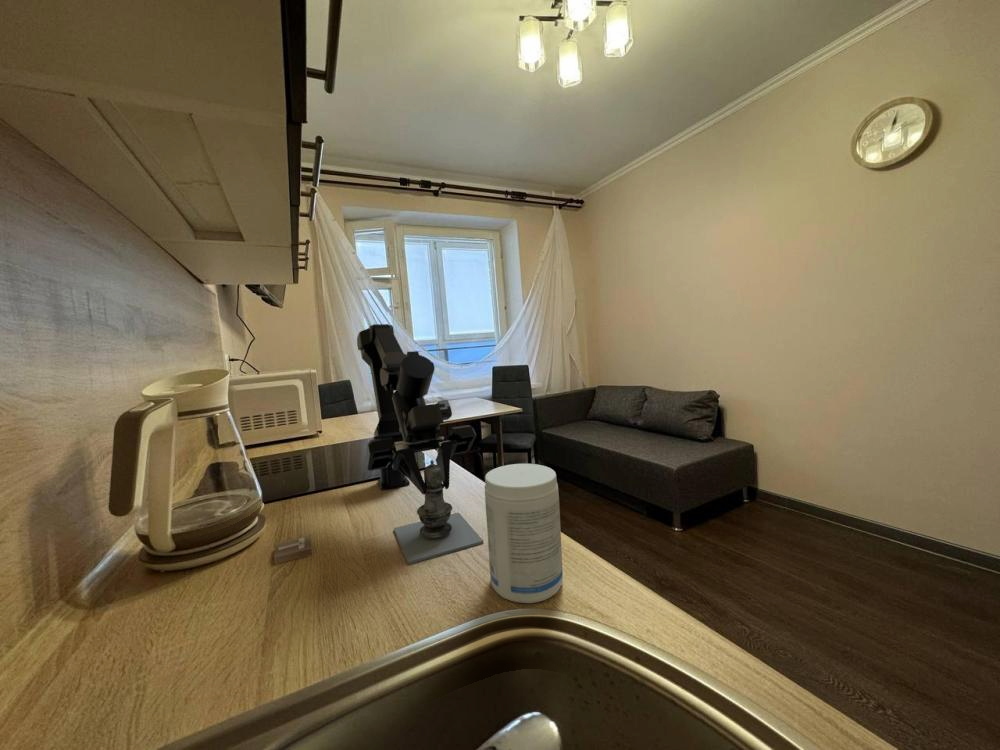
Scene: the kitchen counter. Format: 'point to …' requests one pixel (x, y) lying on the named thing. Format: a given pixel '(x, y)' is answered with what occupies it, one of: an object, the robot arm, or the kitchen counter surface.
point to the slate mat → (436, 540)
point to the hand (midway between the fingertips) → (436, 490)
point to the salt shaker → (434, 505)
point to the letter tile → (292, 549)
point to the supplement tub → (524, 532)
